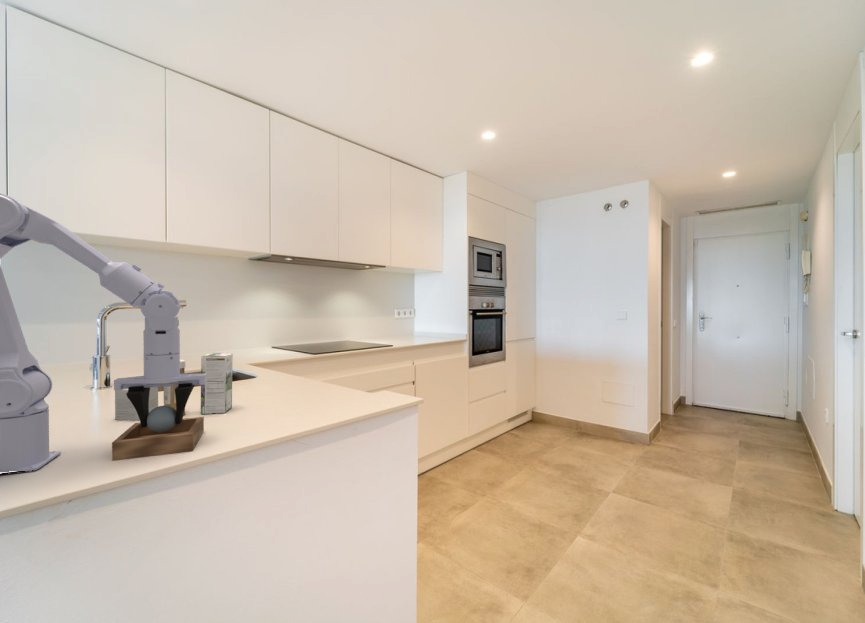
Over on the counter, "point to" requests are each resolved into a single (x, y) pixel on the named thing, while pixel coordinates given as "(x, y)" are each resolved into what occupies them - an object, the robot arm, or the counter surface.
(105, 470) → the counter surface
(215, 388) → the syrup box
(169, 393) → the sprinkles bottle
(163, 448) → the tray
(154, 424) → the ball
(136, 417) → the skincare box
